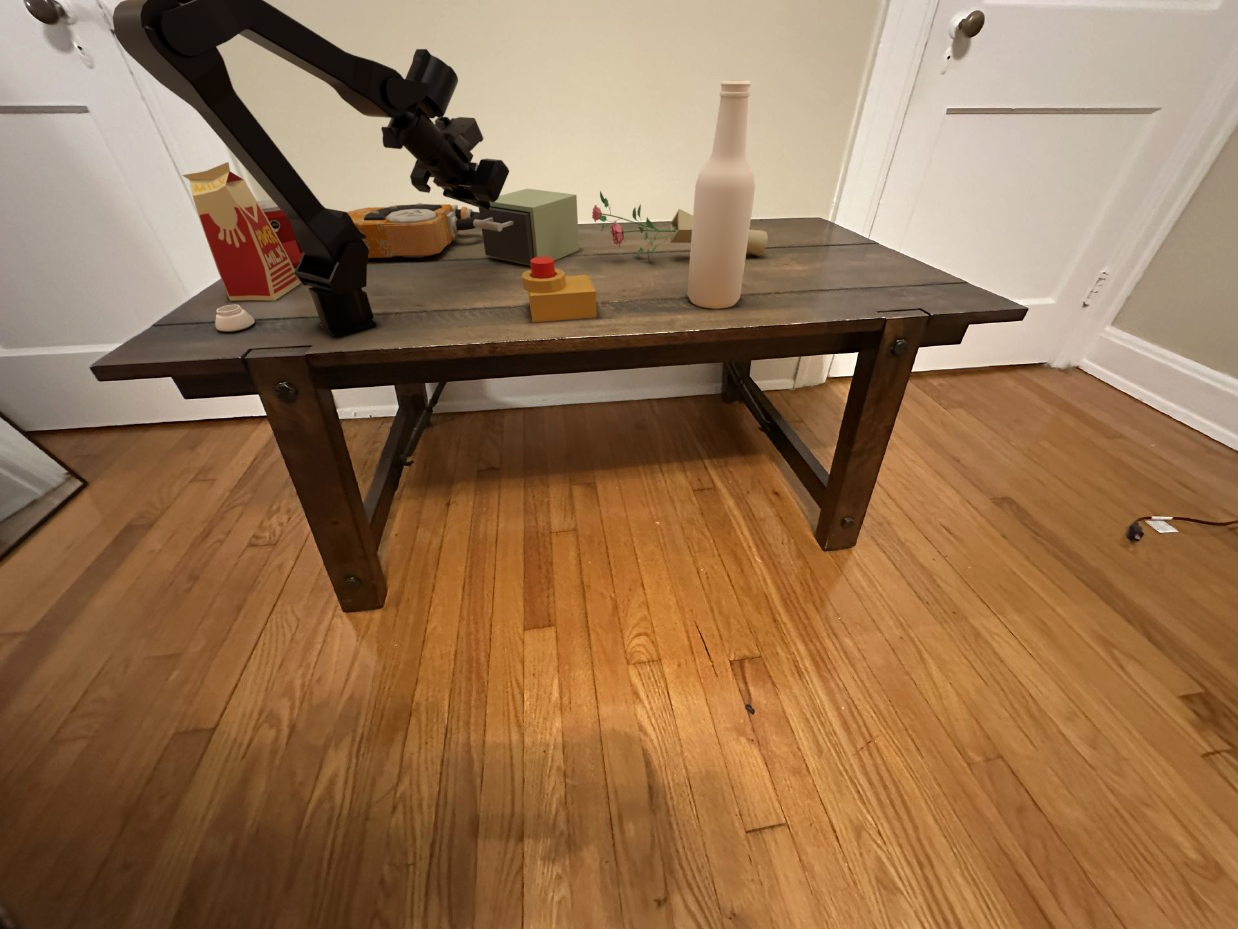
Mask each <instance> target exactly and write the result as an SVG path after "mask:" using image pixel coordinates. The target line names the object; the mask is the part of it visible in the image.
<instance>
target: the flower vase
mask: <svg viewBox="0 0 1238 929" xmlns="http://www.w3.org/2000/svg"><path fill="white" fill-rule="evenodd" d="M599 197H600V201H601V202H602V204H603V205H604V207H605V208H606V209H607V208H608V209H609V214H608V213H603V212H602V210H601V208H600V207H598V205H597V204H594V207H593V208H592V212H591V213H592V215H591V216H592V217H591V219H593V220H594V222H595V223H597V221H601V222H603V223H602V226H601V229H600V232H603V231H604V228H606V227H608V226H610V234H611V235H612V241H613V244H614V245H616V246H618V247H619V248H621V244H622V242H623V241H625V242H626V239H625V233H634V232H640V234H642V233H644V237H643V238H644V239H643V240H644V241H646V240H647V239H650V241H649V242H648V244H647V245H646V247H648V246H650V247H649V248H648V249H647V258H648V261H649V263H650V264H652V263H651V262H652V261H651V259H650V256H652V255H653V253H654V252H655V250H656V249H657V247H658V246H659V245H661V244H663V243H665V241H667V239H668V238H669V236H670V243H671V244H691V237H692V224H693V214H691V213H689V212H687V211H685V210H683V209H681V208H679V209H678V210H677V211H676V213H675V215H674V216H673V218H672V220H671V221H670V229H659V228H657V227H656V226H655V224H654V223H653V222H652V221H651V220H650V218H648V217H646V220H645V224H644V223H642V222H641V221H639V220H637V216H638V218H639V219H640V220H642V218H641V211H642V204H641V203H640V204H639V206H638V207H637V209H636V207H634V208H633V210H632V213H631V214H632V218H633V220H635V221H633V220H631V219H627V218H624V217H621V216H617V215H613V214H611V205H610V204H609V200H608V198H607V197H604V195H603V192H602V191H601V190H599ZM607 216H608V217H612V218H616V219H615V220H613V221H611V220H608V219H607ZM619 220H623V221H627V222H629V223H633V224H636V225H638V226H637V228H638V229H632V230H631V229H630V230H624V229H623V227H622V224H621V223H622V222H619V223H618V222H617V221H619ZM606 221H607V222H611V223H610V224H607V225H604V223H605V222H606ZM648 232H657V233H656V234H655V235H654V236H653V237H652V238H651V237H649V235H648ZM661 232H662V233H670V234H669V236H668V235H666V236H665V238H666V239H665V241H663V242H661V243H657V244H655V245H654V241H655V240H656V239H658V237H657V235H659V233H661ZM662 238H664V236H660V237H659V239H662ZM767 244H768V233H767V231H765V230H758V229H749V236H748V243H747V251H746V254H748V255H751V256H754V257H760V256H762V254H764V252H765V250H766V249H767V248H766V247H767ZM653 245H654V247H653ZM651 247H653V248H652V250H651V253H650V254H649V251H650V249H651ZM643 251H644V249H643V247H642V246H641V247H640V248H639V249H638V251H637V254H636V258H639V256H640V255H641V254H642V253H643Z"/></svg>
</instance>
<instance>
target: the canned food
mask: <svg viewBox="0 0 1238 929" xmlns="http://www.w3.org/2000/svg"><path fill="white" fill-rule="evenodd" d="M257 202H258V204H259V206H260V207H261V209H262V210H263V212H264V214H265V215H266V217H267V219H268V221H269V222H270V224H271V226H272V228H273V230H274V231H275V233H276V235H277V237H278V239H279V240H280V242H281V244H282V246H283V248H284V250H285V251H286V253H287V255H288V257H289V259H290V261H291V263H292V265H293V267H294V269H296V268H297V265H298V263H299V261H300V259H301V257H302V254H303V250H302V248H301V247H300V245H299V244H298V242H297V241H296V238H295V235H294V232H293V229H292V226H291V223H290V221H289V219H288V218H287V216H286V215H285V214H284V213H283V212H282V211H281V209H280V208H279V207H278V206H277V205H276V203H275V202H274V201H273V200H272V199H267V200H259V201H258V200H257Z"/></svg>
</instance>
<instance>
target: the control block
mask: <svg viewBox="0 0 1238 929" xmlns="http://www.w3.org/2000/svg"><path fill="white" fill-rule="evenodd" d="M521 277H522V287H523V290H525V291H526V292H528V302H529V308H530V314H531V320H532V323H543V322H555V321H567V320H581V319H594V318H597V316H598V315H597V291H596V289H595V287H594V285H593V283H592V280H591V278H590V276H589V274H582V275H581V274H580V275H579V274H578V275H566V274H565V271H564V270H562V269H559V268H555V276H554V277H551V278H545V279H538V278H533V277H532V273H531V269H528V270H526V271H524V272H523V273H522V274H521Z"/></svg>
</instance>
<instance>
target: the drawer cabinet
mask: <svg viewBox="0 0 1238 929" xmlns="http://www.w3.org/2000/svg"><path fill="white" fill-rule="evenodd" d="M577 197H578V196H577V194H574V193H565V192H558V191H550V190H541V189H534V188H524V189H521V190H516V191H512V192H508V193H505V194H500V195H499V198H498V200H496V201H495V202H489V203H490V208H491V207H498V208H505V209H512V210H518V211H525V212H530V219H531V230H532V240H533V250H534V258H536V257H551V258H553V259H554V262H555V261H557V260H560V259H562V258H564V257H566V256H569V255H572V254H574V253H576V252H579V251H580V241H579V223H578V222H579V221H578V220H579V219H578V200H577ZM489 258H491V259H496V260H501V261H506V262H511V263H515V264H520V265H526V266H530V267H531V264H527V263H522V262H517V261H512V260H507V259H502V258H497V257H492V256H489Z"/></svg>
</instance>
